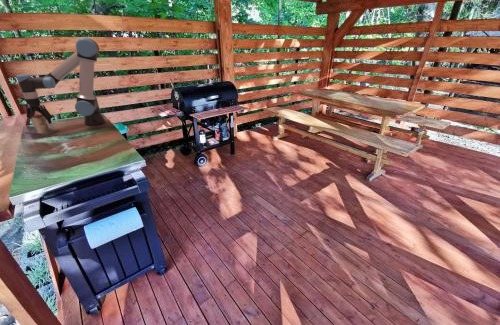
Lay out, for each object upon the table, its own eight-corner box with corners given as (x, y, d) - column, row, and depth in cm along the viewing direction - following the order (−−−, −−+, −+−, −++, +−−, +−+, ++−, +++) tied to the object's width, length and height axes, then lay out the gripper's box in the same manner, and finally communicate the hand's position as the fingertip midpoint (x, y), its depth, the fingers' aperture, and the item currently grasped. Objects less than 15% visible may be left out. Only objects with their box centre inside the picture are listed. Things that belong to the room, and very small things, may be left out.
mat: (38, 129, 184) (38, 128, 184) (59, 130, 180) (59, 130, 180) (24, 133, 175) (24, 132, 175) (46, 135, 171) (46, 134, 171)
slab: (48, 129, 181) (42, 114, 175) (52, 130, 180) (46, 114, 175) (37, 133, 173) (31, 116, 168) (42, 133, 173) (35, 117, 167)
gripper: (12, 98, 165) (24, 127, 174) (40, 99, 160) (52, 129, 170) (23, 96, 172) (35, 124, 181) (51, 97, 167) (62, 126, 176)
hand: (43, 127), depth 175 cm, fingers open, 13 cm apart
